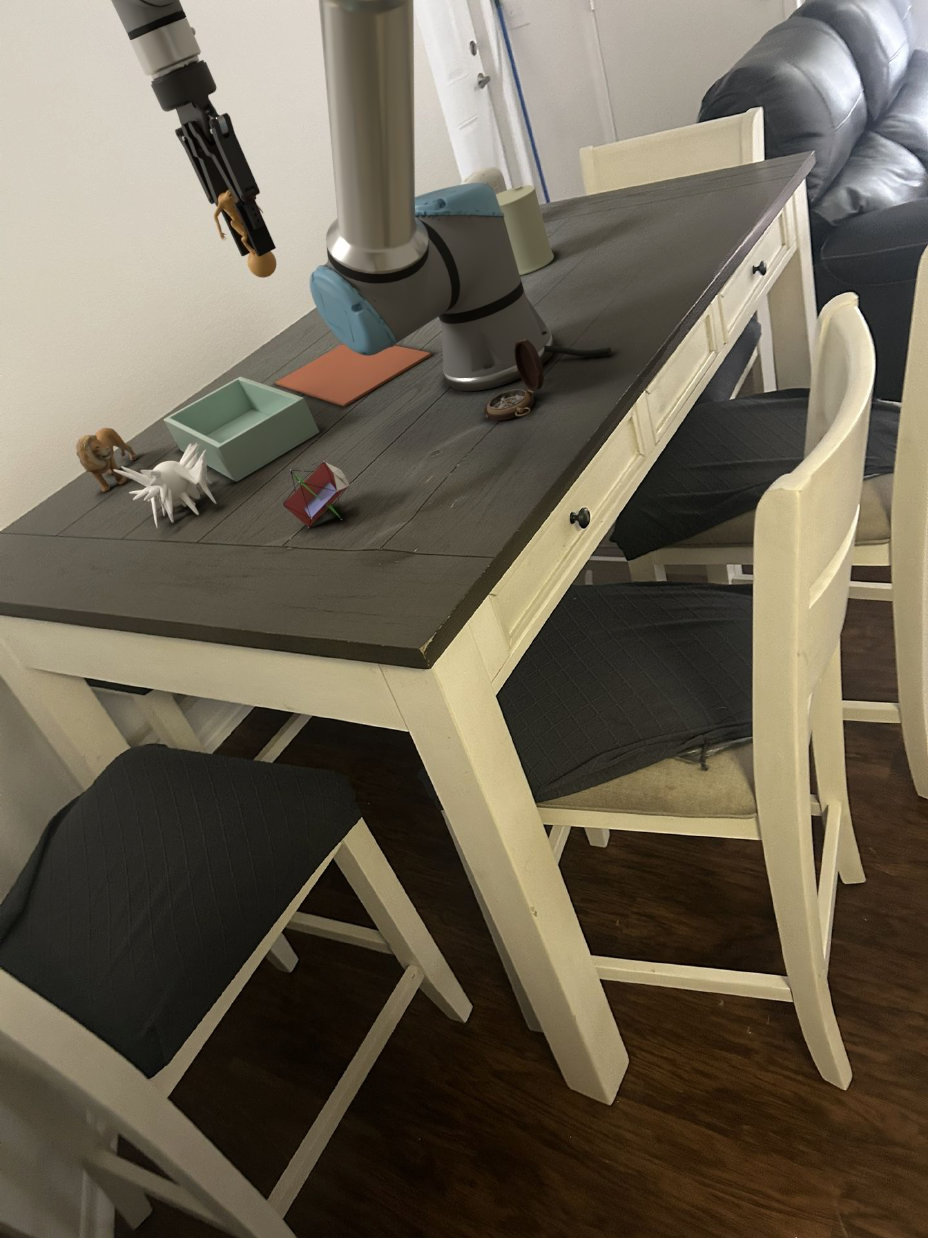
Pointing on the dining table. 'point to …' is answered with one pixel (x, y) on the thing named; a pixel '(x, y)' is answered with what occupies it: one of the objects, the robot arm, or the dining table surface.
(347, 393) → the mat
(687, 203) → the dining table surface
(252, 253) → the figurine
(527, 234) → the can
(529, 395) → the compass
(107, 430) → the lion figurine
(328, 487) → the geometric puzzle
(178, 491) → the spiky ball
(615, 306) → the dining table surface
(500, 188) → the white curved piece
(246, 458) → the basin
